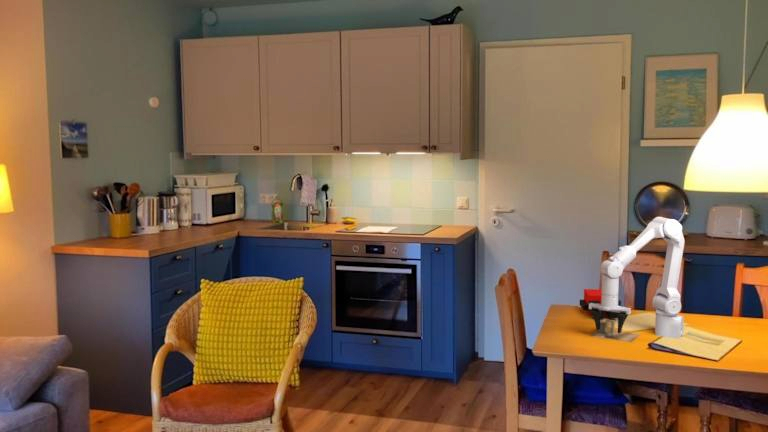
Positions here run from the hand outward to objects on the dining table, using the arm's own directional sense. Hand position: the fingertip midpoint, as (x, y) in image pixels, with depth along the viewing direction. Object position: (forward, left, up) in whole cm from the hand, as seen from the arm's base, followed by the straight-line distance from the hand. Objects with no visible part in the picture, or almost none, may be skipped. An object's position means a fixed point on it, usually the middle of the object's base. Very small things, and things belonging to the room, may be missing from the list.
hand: (608, 331), depth 255 cm
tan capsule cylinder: (0, 0, -2) cm, 2 cm away
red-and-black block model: (+14, -35, -4) cm, 38 cm away
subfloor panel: (-1, -4, -4) cm, 6 cm away
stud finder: (+3, -7, -2) cm, 8 cm away
